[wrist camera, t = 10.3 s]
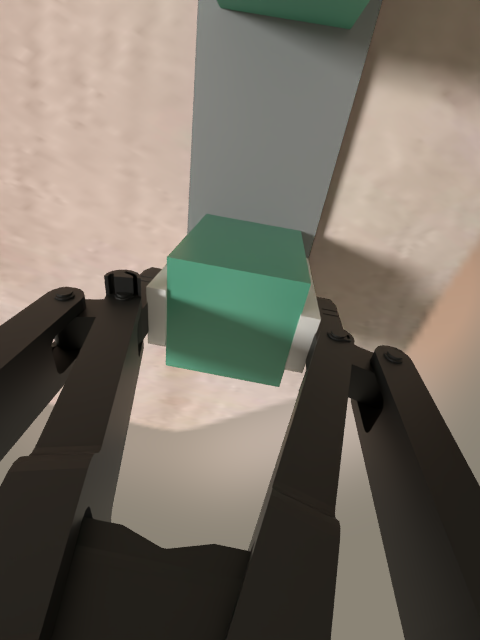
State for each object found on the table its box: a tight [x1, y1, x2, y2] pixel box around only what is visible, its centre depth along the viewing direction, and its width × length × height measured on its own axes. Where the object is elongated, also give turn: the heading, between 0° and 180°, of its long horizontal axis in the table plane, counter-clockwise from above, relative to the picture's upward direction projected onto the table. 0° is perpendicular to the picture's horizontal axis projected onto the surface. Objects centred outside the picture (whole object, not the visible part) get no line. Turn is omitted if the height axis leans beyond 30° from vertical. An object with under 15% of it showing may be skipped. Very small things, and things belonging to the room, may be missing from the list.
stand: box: [187, 0, 382, 258], centre depth 12 cm, size 7×20×7 cm, turn 172°
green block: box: [166, 214, 311, 387], centre depth 15 cm, size 5×5×7 cm
